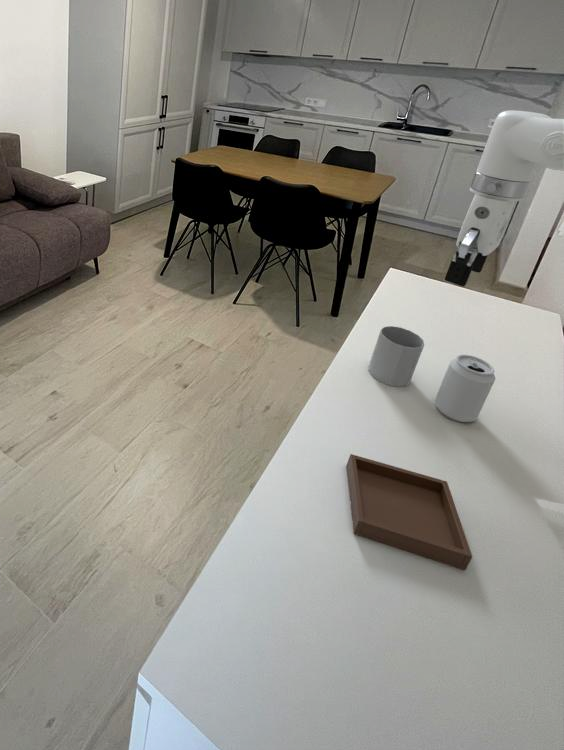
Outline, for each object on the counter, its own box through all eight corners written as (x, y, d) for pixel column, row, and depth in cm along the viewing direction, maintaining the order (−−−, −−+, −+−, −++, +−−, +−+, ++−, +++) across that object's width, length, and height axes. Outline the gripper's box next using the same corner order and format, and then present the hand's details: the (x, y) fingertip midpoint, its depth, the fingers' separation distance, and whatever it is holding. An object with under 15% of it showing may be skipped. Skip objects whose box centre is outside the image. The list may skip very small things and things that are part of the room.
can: (438, 419, 98) (460, 369, 93) (428, 395, 104) (448, 348, 100) (481, 429, 96) (505, 379, 91) (468, 404, 103) (490, 356, 98)
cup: (378, 358, 116) (390, 322, 112) (415, 377, 110) (430, 339, 106) (361, 371, 111) (374, 334, 107) (400, 392, 105) (414, 352, 101)
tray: (441, 493, 81) (447, 481, 80) (465, 570, 69) (472, 557, 68) (346, 465, 85) (350, 453, 84) (353, 533, 73) (358, 520, 72)
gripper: (512, 200, 76) (472, 297, 83) (535, 185, 87) (498, 272, 94) (457, 187, 81) (424, 280, 88) (486, 174, 92) (454, 258, 99)
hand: (462, 276), depth 91 cm, fingers open, 9 cm apart
